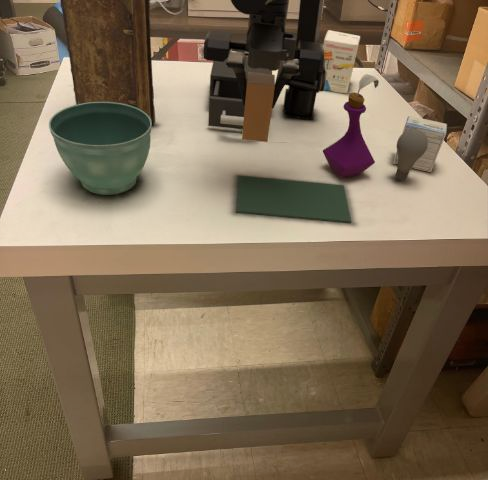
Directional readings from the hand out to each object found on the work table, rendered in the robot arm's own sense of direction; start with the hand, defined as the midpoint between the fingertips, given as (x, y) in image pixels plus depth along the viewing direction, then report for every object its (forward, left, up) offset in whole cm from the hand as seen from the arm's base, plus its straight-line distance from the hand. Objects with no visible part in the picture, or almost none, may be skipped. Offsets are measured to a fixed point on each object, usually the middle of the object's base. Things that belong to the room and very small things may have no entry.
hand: (258, 106), depth 84 cm
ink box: (-21, -51, -13) cm, 57 cm away
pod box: (0, 0, -5) cm, 5 cm away
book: (+29, -18, -13) cm, 37 cm away
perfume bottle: (-19, -5, -13) cm, 24 cm away
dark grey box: (+3, -35, -13) cm, 38 cm away
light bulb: (-30, -4, -13) cm, 33 cm away
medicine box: (-34, -11, -13) cm, 38 cm away
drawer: (+3, -22, -12) cm, 26 cm away
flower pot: (+25, +7, -13) cm, 29 cm away
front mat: (-8, +7, -13) cm, 17 cm away
